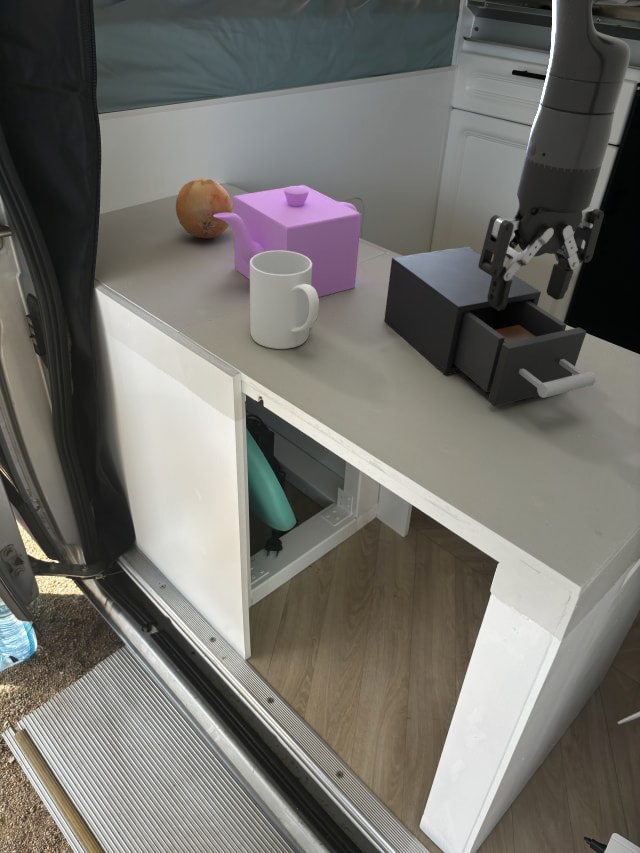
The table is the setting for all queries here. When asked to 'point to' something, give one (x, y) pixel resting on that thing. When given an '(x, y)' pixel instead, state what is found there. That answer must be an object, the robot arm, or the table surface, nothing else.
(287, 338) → the mug
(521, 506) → the table surface
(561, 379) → the drawer
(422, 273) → the cabinet
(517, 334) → the block
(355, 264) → the teapot
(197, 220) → the onion
